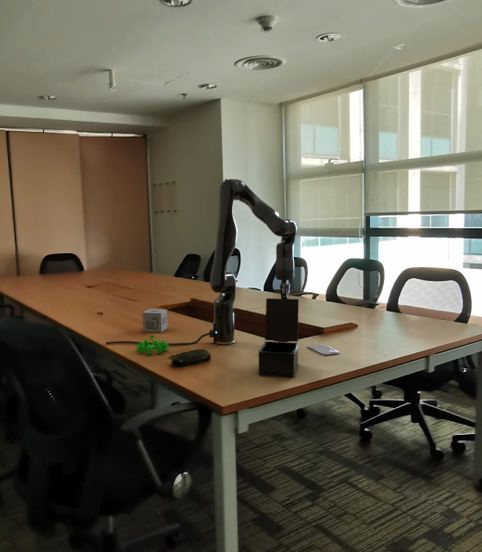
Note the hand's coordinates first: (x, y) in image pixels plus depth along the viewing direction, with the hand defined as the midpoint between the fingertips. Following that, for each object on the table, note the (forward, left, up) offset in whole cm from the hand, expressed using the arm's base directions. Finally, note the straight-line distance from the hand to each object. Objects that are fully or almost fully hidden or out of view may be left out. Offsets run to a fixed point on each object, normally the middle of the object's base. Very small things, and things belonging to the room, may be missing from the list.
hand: (285, 309), depth 204 cm
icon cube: (-72, +34, -20) cm, 82 cm away
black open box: (0, -21, -20) cm, 29 cm away
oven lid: (0, -11, -2) cm, 11 cm away
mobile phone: (+15, +10, -20) cm, 27 cm away
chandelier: (-58, -5, -20) cm, 61 cm away
